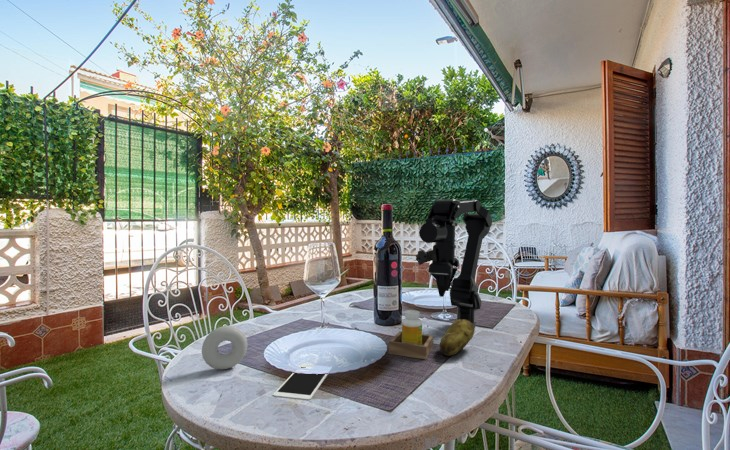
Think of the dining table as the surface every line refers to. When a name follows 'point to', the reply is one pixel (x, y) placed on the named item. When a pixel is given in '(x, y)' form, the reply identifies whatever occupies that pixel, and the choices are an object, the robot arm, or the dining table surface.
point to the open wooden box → (411, 347)
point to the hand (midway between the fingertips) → (444, 293)
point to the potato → (457, 337)
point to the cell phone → (300, 385)
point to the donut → (212, 343)
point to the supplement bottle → (412, 328)
